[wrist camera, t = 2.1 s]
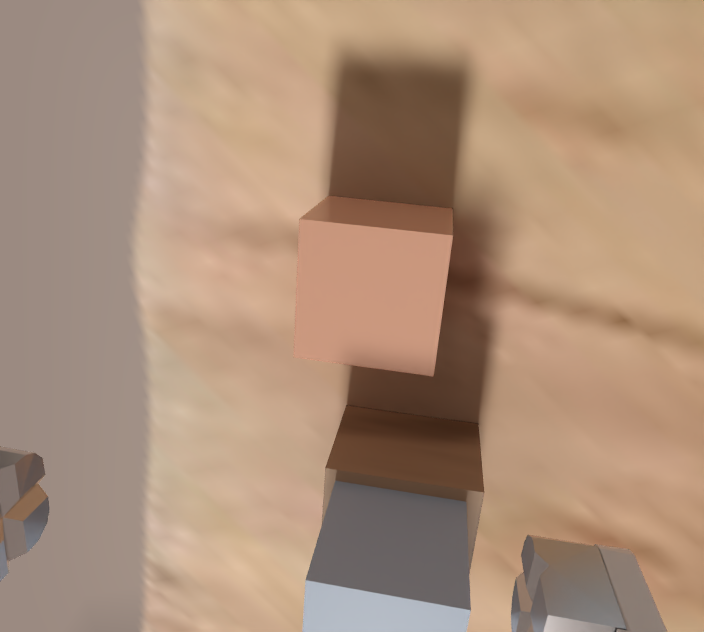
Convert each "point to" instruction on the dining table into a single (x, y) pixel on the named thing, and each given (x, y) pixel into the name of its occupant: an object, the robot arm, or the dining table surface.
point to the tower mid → (389, 564)
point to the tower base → (409, 458)
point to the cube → (372, 283)
